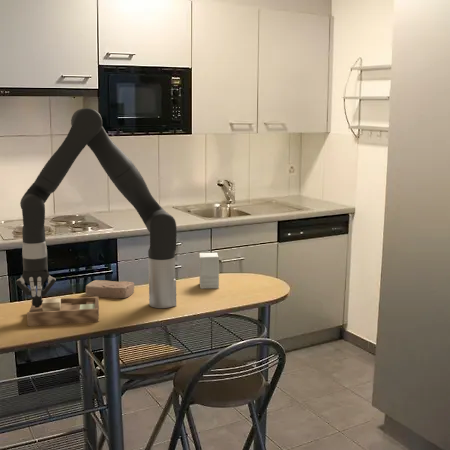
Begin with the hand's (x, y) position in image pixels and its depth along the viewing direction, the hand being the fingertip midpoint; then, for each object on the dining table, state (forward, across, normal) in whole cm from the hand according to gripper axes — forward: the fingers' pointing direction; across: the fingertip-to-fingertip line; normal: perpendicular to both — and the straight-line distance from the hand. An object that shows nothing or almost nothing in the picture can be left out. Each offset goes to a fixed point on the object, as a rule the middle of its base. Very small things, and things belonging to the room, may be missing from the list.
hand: (37, 306), depth 201 cm
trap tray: (+4, -9, 0) cm, 9 cm away
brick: (+4, -24, -23) cm, 33 cm away
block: (+1, -5, 0) cm, 5 cm away
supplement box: (+4, -62, -27) cm, 67 cm away
